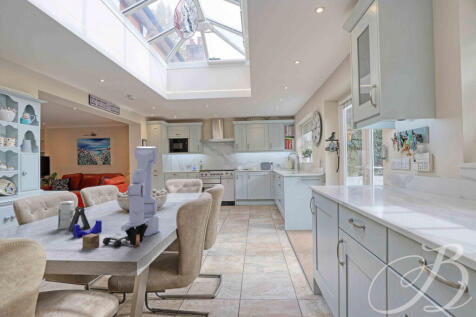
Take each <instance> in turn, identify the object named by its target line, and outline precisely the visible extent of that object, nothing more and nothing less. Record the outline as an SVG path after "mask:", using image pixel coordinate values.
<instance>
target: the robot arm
mask: <svg viewBox="0 0 476 317" xmlns="http://www.w3.org/2000/svg"><path fill="white" fill-rule="evenodd" d="M134 148H135V149H134V157H135V159H136V161H137V165H136V169H135V170H134V171H133V174H132V177H131V178H132V179H131V182H130V184H129V185H128V186H127V201H128V202H129V204H128V205H129V207H128V208H129V210H128V211H129V212H128V213H129V218H128V219H129V220H128V222H127V223H125V224H122V225H121V227H120V230H121V231H124V232H125V234H126V236H128V238H129V241H130V244H129V245H130V246H133V245H135V244H136V235H137V233H139V234H140V243H143V240H144V237H148V236H151V235H153V234H156V233H160V232H161V230H159V226H160V224H159V217H158V215H157V213H158V201H157V199H156V198H155V197H153V196H152V192H153V191H152V188H153V186H152V185H153V167H154V164H156V163H157V161H158V149H157V147H156V146H136V147H134Z"/></svg>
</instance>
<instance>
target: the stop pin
mask: <svg viewBox="0 0 476 317" xmlns="http://www.w3.org/2000/svg"><path fill="white" fill-rule="evenodd" d="M122 244H127V245H130V241H126V239H123V240H122ZM138 247H141V242H140V234H139V233H137V235H136V244H135V245H132V248H138Z"/></svg>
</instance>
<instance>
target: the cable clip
mask: <svg viewBox="0 0 476 317" xmlns="http://www.w3.org/2000/svg"><path fill="white" fill-rule="evenodd" d="M102 224H103V223H102V220H100V219H97V220H95V223H94V225H93V227H92V228H90V229H88V230H86V231H84V230H81V229H80V227H81V226H80V224H78V223H77V224H74V226H73V234H72V235H73V238H76V239H79V238H83V236H85V235H88V234H98V233H102V232H103V231H102V228H103V227H102Z"/></svg>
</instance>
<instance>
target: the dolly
mask: <svg viewBox="0 0 476 317" xmlns="http://www.w3.org/2000/svg"><path fill="white" fill-rule="evenodd" d="M123 240H125V241H129V238H128V235H124V234H121V233H117V234H115V235H112V236H109V237H104V238H103V240H102V244H103V245H105V246H107V245H109V244H110V243H112V244H113V245H114V247H116V248H119V247H121V245H122V244H123Z"/></svg>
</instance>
